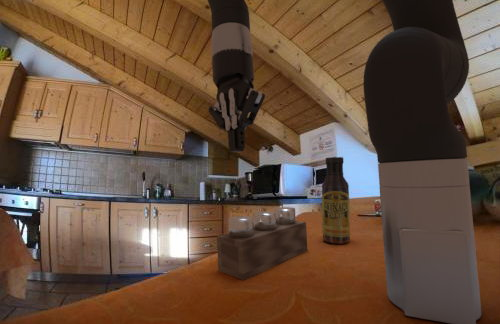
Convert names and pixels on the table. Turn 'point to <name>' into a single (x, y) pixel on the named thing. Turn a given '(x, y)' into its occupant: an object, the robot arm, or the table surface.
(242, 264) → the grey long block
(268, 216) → the knob middle
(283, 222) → the knob right
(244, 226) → the knob left
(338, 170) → the sauce bottle
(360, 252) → the table surface
